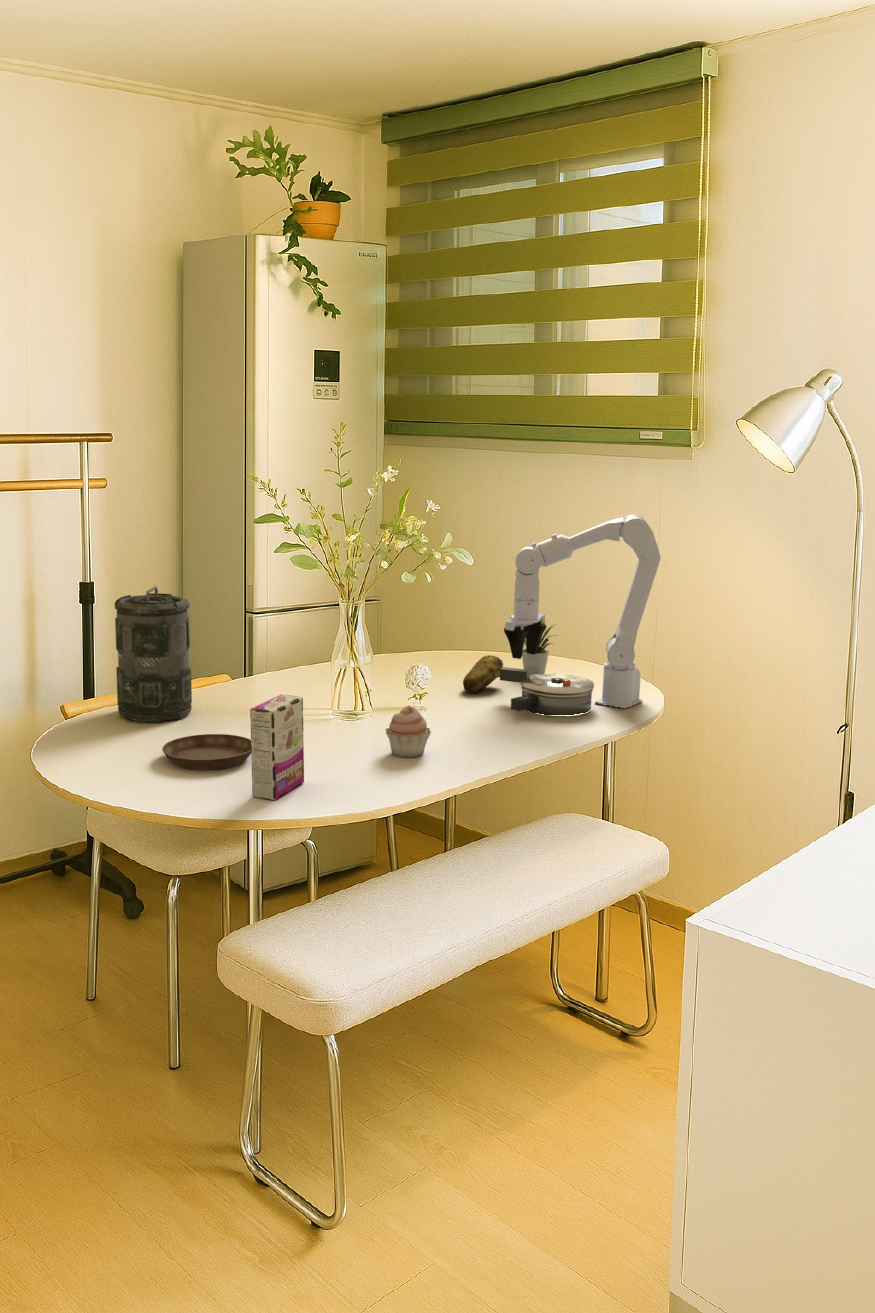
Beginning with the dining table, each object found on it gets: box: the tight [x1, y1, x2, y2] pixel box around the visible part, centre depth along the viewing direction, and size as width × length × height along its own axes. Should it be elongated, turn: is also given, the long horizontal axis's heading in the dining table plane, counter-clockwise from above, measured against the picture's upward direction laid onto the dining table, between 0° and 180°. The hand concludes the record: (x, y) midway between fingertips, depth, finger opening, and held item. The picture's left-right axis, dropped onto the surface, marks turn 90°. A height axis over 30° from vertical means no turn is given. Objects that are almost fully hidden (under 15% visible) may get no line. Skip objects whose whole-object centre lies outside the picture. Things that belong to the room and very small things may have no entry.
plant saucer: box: [161, 733, 252, 771], centre depth 231 cm, size 18×18×3 cm
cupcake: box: [385, 705, 432, 759], centre depth 237 cm, size 9×9×10 cm
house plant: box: [521, 621, 558, 675], centre depth 308 cm, size 14×14×16 cm
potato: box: [462, 654, 504, 693], centre depth 291 cm, size 8×13×8 cm, turn 126°
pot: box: [510, 686, 594, 715], centre depth 274 cm, size 22×16×5 cm
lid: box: [499, 666, 595, 694], centre depth 276 cm, size 22×17×3 cm
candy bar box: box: [249, 694, 305, 801], centre depth 213 cm, size 11×5×16 cm, turn 158°
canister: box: [114, 585, 193, 724], centre depth 259 cm, size 16×16×28 cm
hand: (524, 656), depth 281 cm, fingers open, 6 cm apart
